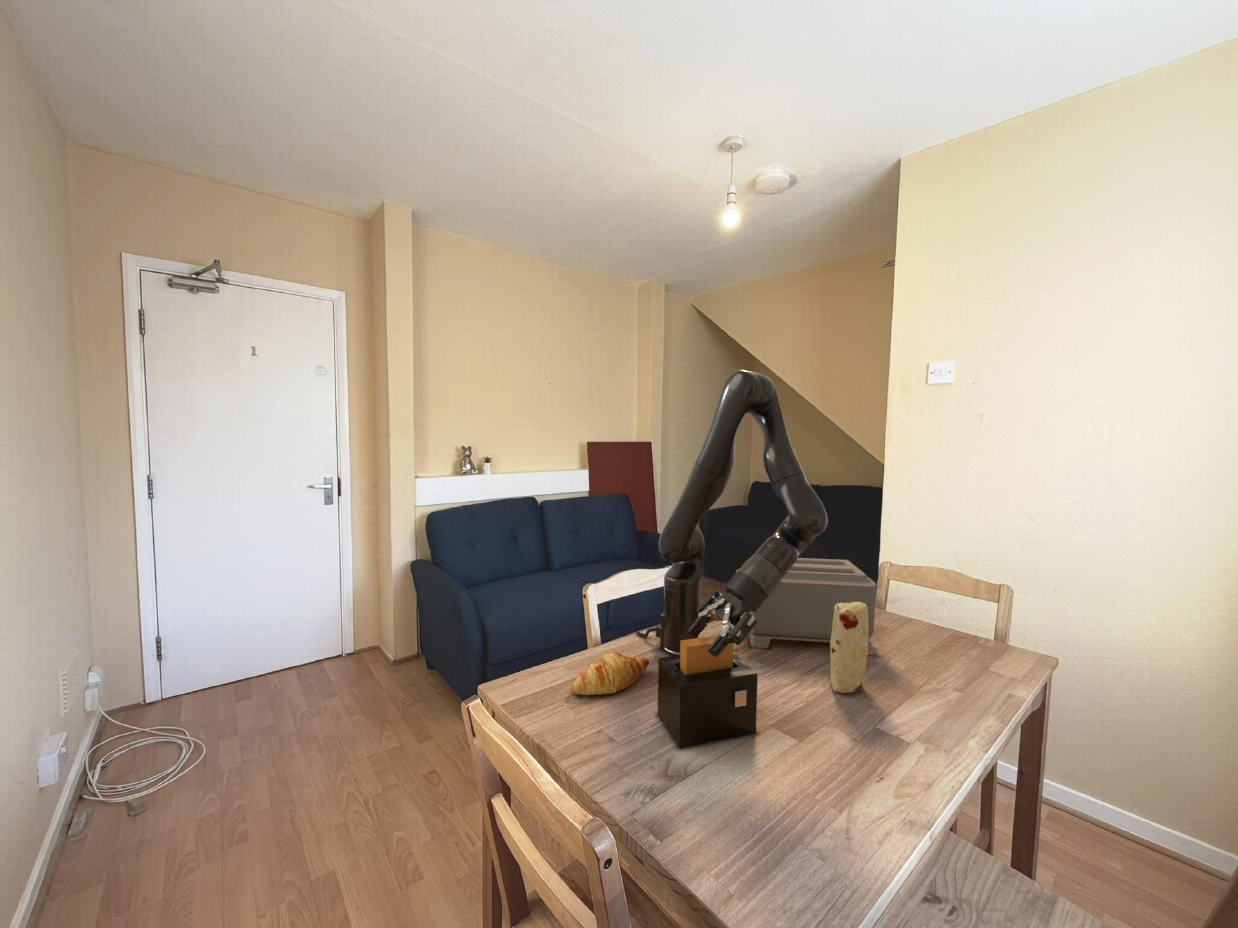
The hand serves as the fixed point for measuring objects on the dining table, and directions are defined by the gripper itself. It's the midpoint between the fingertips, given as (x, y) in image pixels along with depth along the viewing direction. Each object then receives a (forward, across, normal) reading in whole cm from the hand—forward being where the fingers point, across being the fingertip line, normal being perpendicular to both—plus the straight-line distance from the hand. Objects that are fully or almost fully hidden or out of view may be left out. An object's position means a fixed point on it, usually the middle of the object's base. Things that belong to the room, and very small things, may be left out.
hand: (700, 643), depth 95 cm
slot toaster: (+11, 0, +13) cm, 17 cm away
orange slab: (+6, 0, +8) cm, 10 cm away
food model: (-15, -3, +39) cm, 42 cm away
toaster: (-20, -30, +44) cm, 57 cm away
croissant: (+21, -20, +3) cm, 29 cm away
